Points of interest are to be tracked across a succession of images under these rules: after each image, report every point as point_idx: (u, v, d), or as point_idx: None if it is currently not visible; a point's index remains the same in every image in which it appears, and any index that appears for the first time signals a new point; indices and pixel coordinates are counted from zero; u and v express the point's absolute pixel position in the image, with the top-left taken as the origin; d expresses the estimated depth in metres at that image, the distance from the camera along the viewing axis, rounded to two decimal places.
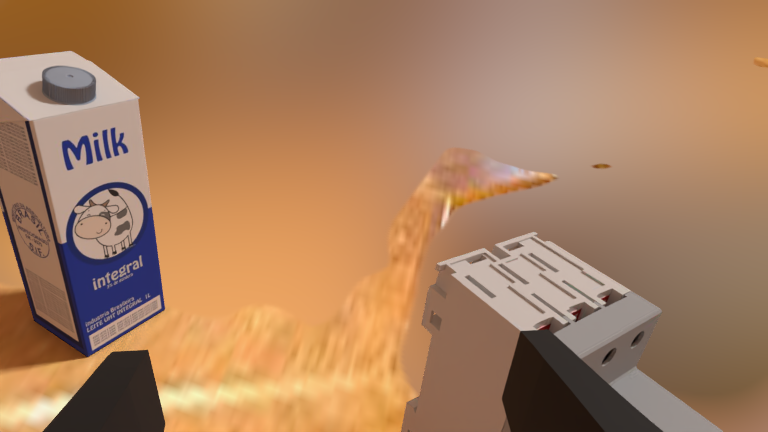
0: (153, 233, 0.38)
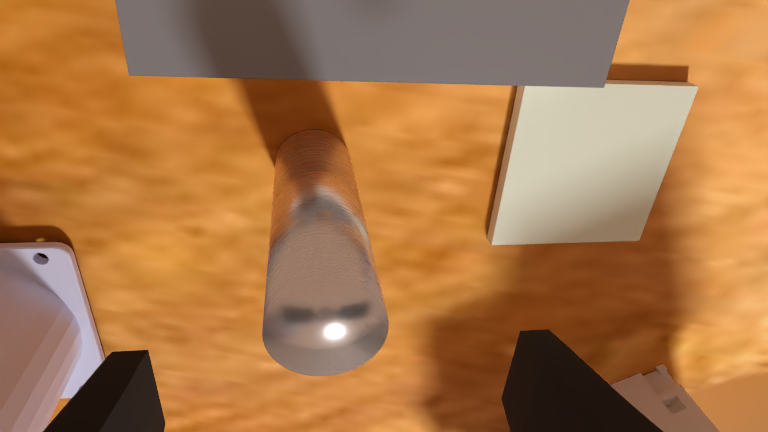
0: None
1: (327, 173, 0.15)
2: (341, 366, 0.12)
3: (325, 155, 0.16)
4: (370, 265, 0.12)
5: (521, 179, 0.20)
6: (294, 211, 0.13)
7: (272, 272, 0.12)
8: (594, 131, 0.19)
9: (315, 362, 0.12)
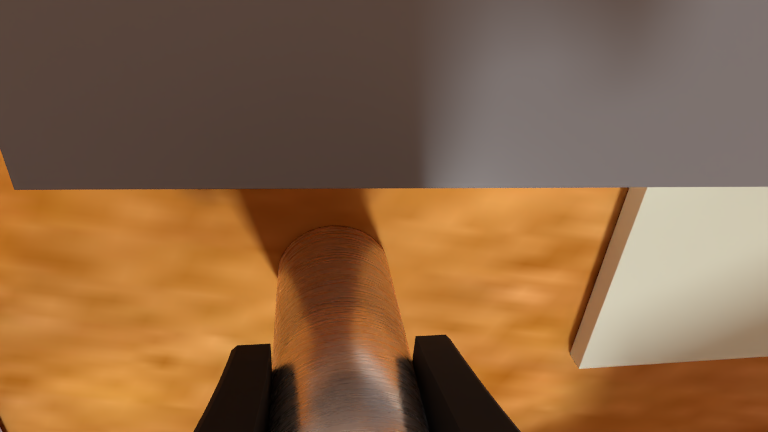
0: None
1: (362, 332, 0.09)
2: None
3: (355, 285, 0.10)
4: None
5: (631, 287, 0.14)
6: None
7: None
8: (744, 223, 0.13)
9: None
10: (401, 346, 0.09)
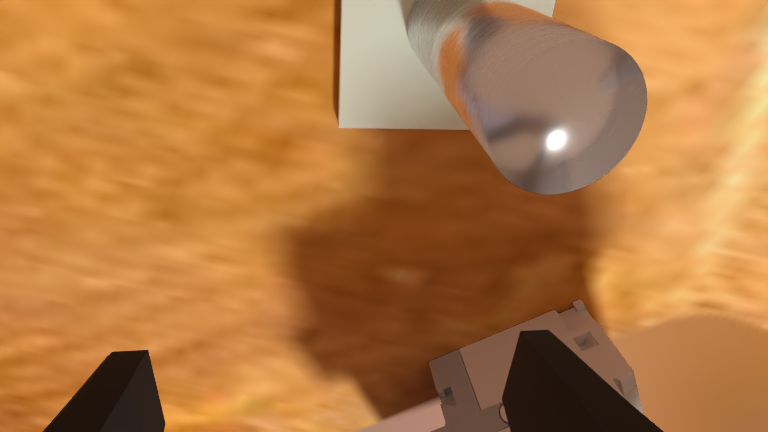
0: None
1: None
2: (573, 180, 0.09)
3: None
4: None
5: (362, 36, 0.16)
6: (482, 16, 0.11)
7: (482, 62, 0.09)
8: None
9: (544, 172, 0.09)
10: None
